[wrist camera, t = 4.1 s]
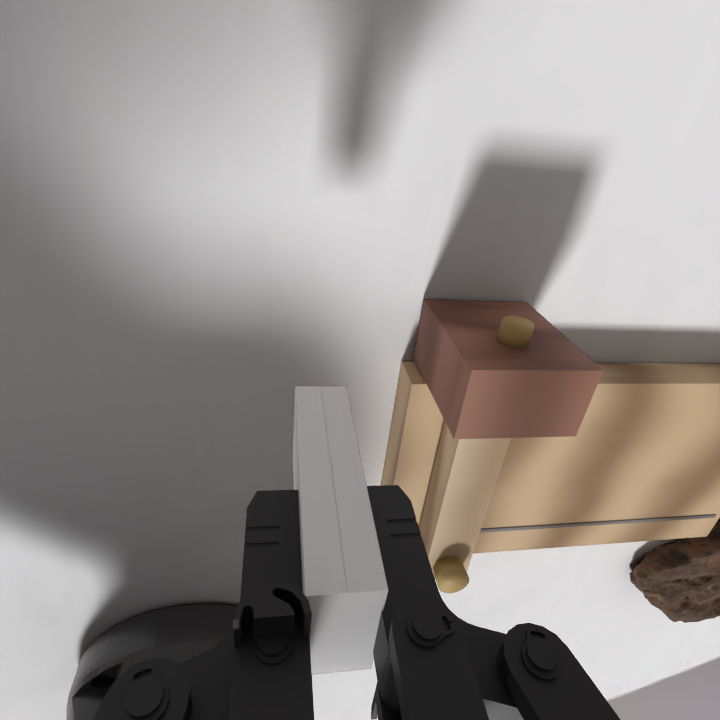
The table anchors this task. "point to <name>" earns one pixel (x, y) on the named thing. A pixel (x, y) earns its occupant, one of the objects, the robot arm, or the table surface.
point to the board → (587, 462)
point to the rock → (683, 577)
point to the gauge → (489, 410)
